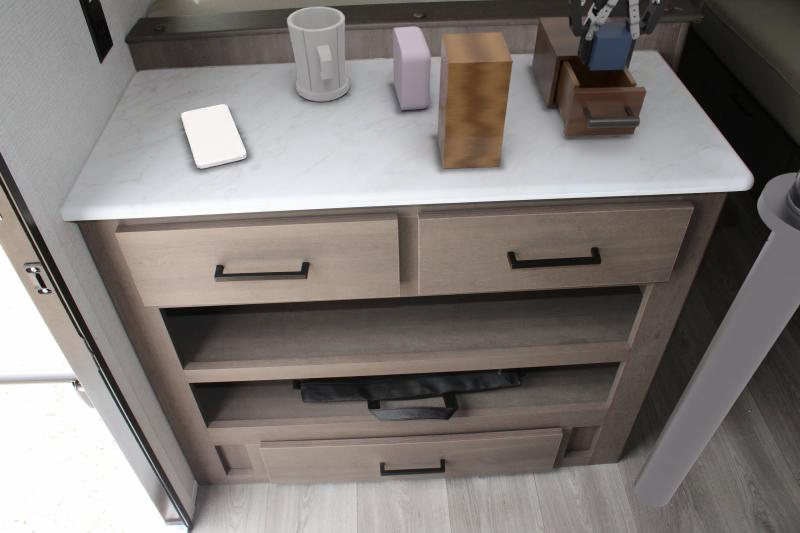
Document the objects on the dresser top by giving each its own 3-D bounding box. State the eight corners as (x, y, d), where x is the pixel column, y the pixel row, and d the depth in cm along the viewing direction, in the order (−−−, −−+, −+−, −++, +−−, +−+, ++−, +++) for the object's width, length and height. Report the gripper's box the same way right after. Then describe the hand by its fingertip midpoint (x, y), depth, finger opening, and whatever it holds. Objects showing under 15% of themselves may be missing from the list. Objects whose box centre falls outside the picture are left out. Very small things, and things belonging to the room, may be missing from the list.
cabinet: (618, 106, 100) (632, 54, 94) (547, 108, 100) (556, 56, 94) (596, 66, 110) (608, 15, 104) (531, 68, 110) (539, 17, 103)
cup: (368, 90, 105) (365, 18, 96) (330, 113, 100) (323, 40, 91) (322, 70, 109) (315, 1, 101) (284, 91, 104) (273, 20, 96)
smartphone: (196, 166, 89) (179, 112, 98) (197, 170, 89) (180, 116, 99) (247, 154, 91) (226, 103, 100) (248, 159, 91) (227, 107, 101)
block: (614, 53, 93) (622, 21, 89) (624, 69, 89) (633, 36, 86) (581, 54, 92) (588, 22, 89) (590, 70, 89) (598, 37, 86)
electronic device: (431, 111, 100) (433, 51, 93) (402, 114, 99) (402, 54, 92) (421, 80, 107) (422, 22, 100) (393, 82, 106) (393, 24, 99)
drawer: (642, 151, 90) (656, 106, 85) (571, 153, 90) (581, 108, 85) (610, 91, 102) (621, 49, 97) (547, 93, 102) (555, 51, 97)
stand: (490, 135, 95) (501, 32, 84) (499, 166, 89) (512, 60, 78) (437, 137, 95) (441, 33, 83) (443, 168, 89) (448, 62, 78)
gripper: (584, -55, 76) (559, 76, 88) (701, -58, 76) (661, 72, 88) (569, -75, 81) (547, 51, 93) (678, -78, 82) (643, 48, 94)
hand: (603, 61), depth 91 cm, fingers closed on block, 4 cm apart
